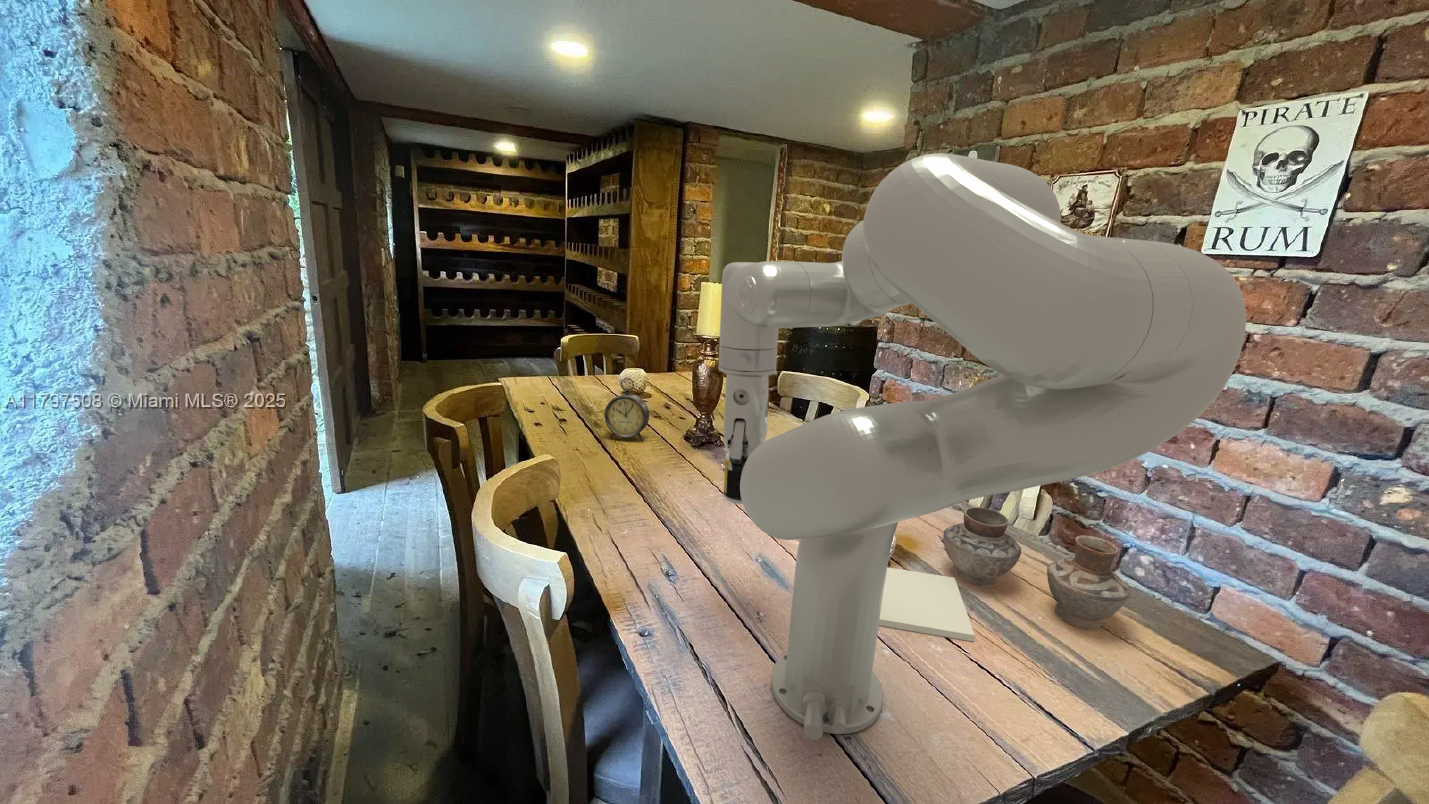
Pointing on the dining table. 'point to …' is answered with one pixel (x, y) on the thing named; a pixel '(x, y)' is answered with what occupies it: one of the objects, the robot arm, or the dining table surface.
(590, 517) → the dining table surface
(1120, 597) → the pottery
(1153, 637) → the dining table surface
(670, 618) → the dining table surface
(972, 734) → the dining table surface
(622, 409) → the alarm clock
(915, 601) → the cream board
